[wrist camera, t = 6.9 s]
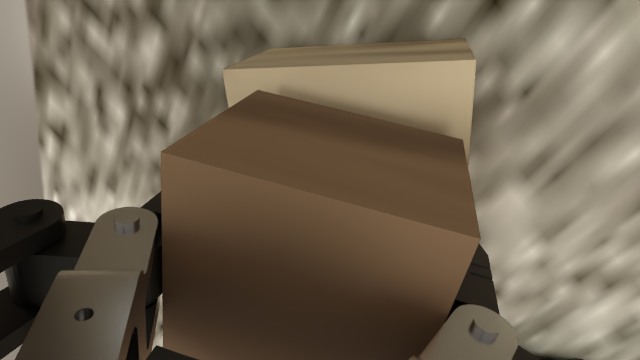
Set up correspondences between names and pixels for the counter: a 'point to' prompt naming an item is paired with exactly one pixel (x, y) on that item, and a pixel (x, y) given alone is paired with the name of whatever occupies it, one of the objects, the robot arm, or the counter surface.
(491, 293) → the robot arm
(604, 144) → the counter surface
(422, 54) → the maple block
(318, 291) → the walnut block
